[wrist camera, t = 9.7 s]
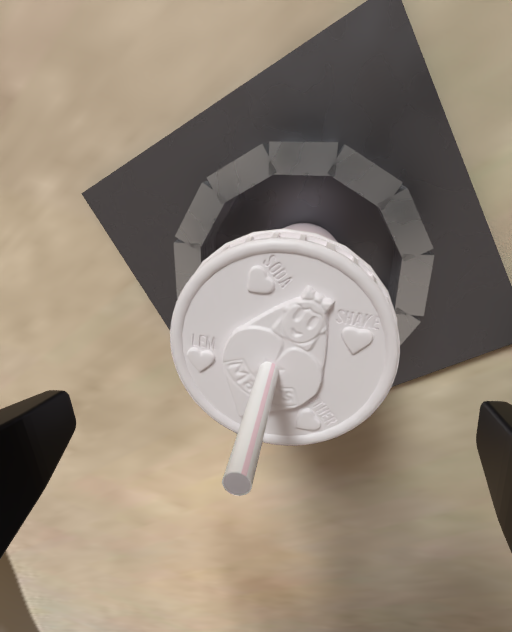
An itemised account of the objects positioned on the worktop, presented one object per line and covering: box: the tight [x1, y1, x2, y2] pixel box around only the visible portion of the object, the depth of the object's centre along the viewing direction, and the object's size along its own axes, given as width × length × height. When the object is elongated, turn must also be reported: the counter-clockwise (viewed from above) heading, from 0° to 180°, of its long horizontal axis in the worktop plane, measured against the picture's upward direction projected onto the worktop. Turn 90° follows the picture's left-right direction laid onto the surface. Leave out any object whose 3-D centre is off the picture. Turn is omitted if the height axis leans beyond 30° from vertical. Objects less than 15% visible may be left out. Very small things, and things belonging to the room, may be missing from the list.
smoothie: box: [170, 223, 400, 496], centre depth 14 cm, size 6×6×14 cm
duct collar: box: [82, 0, 512, 387], centre depth 19 cm, size 16×16×3 cm
